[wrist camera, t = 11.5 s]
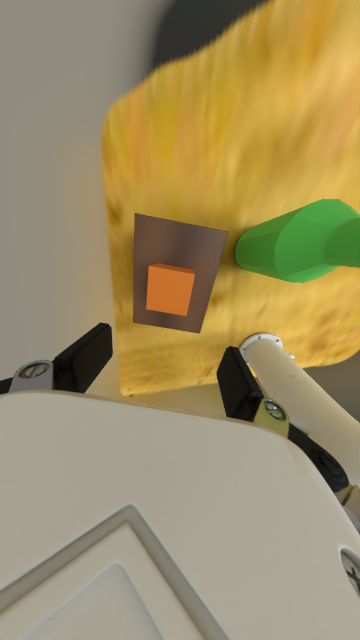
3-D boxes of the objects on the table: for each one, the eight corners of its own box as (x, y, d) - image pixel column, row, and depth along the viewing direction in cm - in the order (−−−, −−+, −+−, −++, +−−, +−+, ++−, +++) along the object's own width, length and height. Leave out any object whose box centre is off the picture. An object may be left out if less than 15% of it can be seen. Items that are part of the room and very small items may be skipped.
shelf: (211, 240, 30) (228, 231, 18) (195, 308, 37) (199, 333, 25) (154, 229, 29) (134, 213, 18) (149, 300, 36) (133, 322, 25)
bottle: (253, 216, 28) (551, 51, 5) (283, 241, 29) (601, 202, 7) (225, 256, 31) (328, 264, 9) (253, 277, 33) (399, 328, 10)
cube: (192, 269, 20) (195, 274, 15) (186, 302, 23) (186, 316, 18) (157, 262, 20) (148, 265, 15) (154, 297, 22) (145, 309, 18)
